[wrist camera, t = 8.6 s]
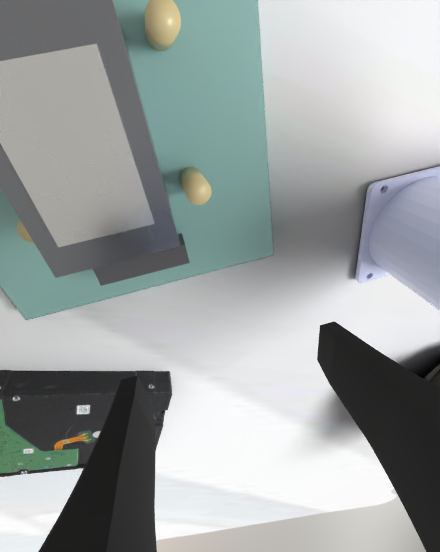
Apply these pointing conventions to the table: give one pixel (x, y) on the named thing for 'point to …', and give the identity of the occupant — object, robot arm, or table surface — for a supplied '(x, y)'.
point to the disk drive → (63, 415)
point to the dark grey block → (77, 137)
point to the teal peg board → (176, 155)
